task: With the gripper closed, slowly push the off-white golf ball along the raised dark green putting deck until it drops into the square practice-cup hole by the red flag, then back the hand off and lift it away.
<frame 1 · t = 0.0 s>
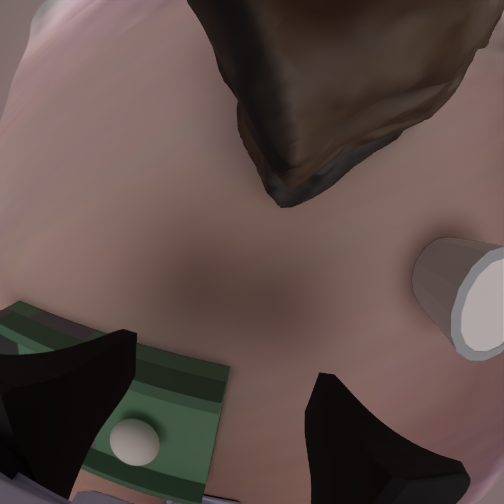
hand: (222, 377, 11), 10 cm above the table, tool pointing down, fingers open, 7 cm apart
golf ball: (134, 442, 20), point 4 cm above the table, touching putting green
owl: (331, 96, 19), on the table
putting green: (109, 399, 24), on the table
grey cup: (442, 274, 20), on the table
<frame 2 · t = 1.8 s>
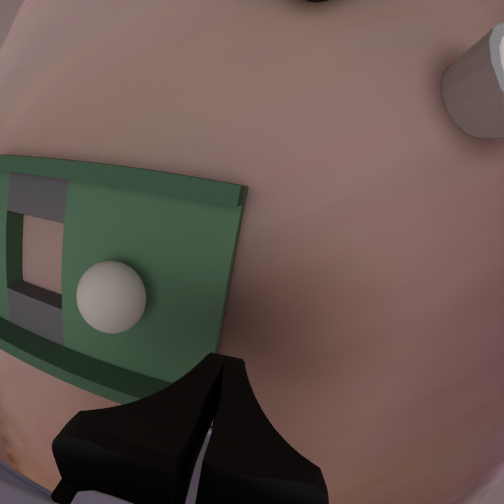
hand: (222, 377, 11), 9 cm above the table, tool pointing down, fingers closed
golf ball: (111, 297, 16), point 4 cm above the table, touching putting green
putting green: (88, 264, 20), on the table
grey cup: (471, 100, 16), on the table
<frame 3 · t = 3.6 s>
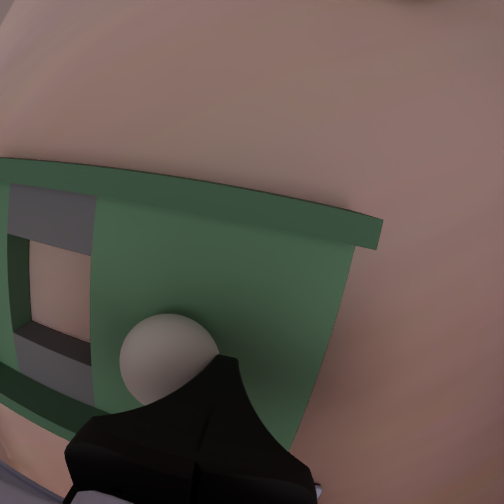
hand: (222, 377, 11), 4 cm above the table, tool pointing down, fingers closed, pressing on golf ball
golf ball: (169, 363, 12), point 4 cm above the table, tilted 6°, touching gripper, putting green
putting green: (124, 307, 16), on the table
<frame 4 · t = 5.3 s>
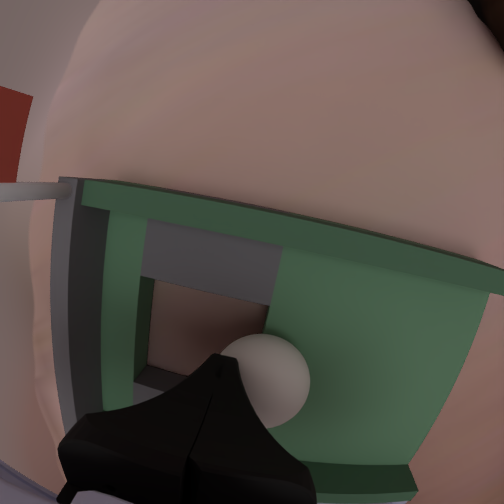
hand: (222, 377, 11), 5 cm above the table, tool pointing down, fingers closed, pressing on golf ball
golf ball: (260, 381, 12), point 4 cm above the table, tilted 137°, touching gripper, putting green
putting green: (277, 350, 16), on the table
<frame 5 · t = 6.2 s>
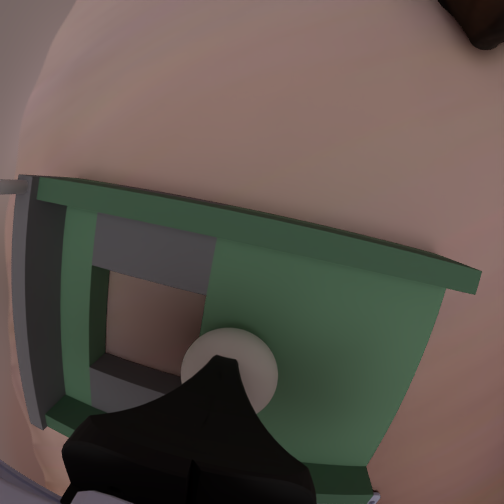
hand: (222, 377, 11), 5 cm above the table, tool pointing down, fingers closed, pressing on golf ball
golf ball: (229, 374, 12), point 4 cm above the table, tilted 94°, touching gripper, putting green
putting green: (223, 341, 16), on the table
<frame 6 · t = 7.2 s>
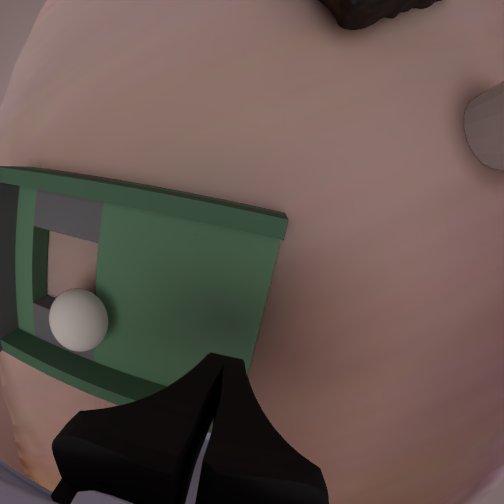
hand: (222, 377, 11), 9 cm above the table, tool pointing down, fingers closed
golf ball: (78, 320, 18), point 4 cm above the table, tilted 151°, touching putting green
putting green: (120, 282, 21), on the table
grey cup: (489, 132, 17), on the table
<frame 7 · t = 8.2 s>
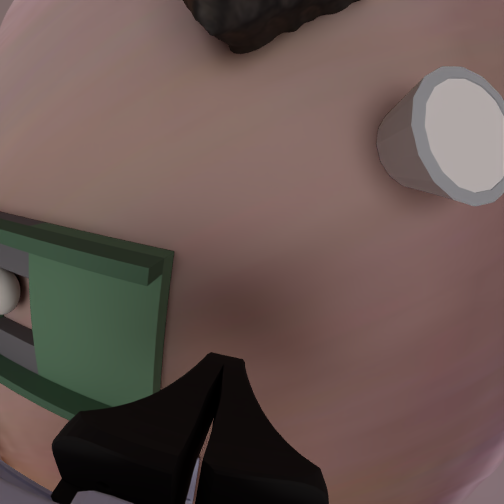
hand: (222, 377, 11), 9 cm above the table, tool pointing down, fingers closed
putting green: (53, 309, 22), on the table
grey cup: (413, 147, 18), on the table
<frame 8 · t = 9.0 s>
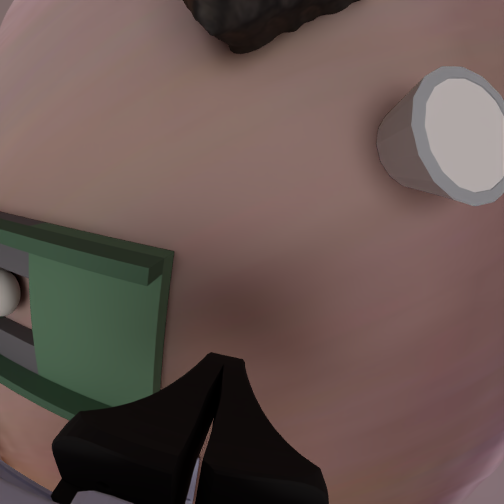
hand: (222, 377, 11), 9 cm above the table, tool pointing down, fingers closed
golf ball: (0, 292, 20), point 2 cm above the table, tilted 78°
putting green: (53, 309, 22), on the table
grey cup: (413, 147, 18), on the table
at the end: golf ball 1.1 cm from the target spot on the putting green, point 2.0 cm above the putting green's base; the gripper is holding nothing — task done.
